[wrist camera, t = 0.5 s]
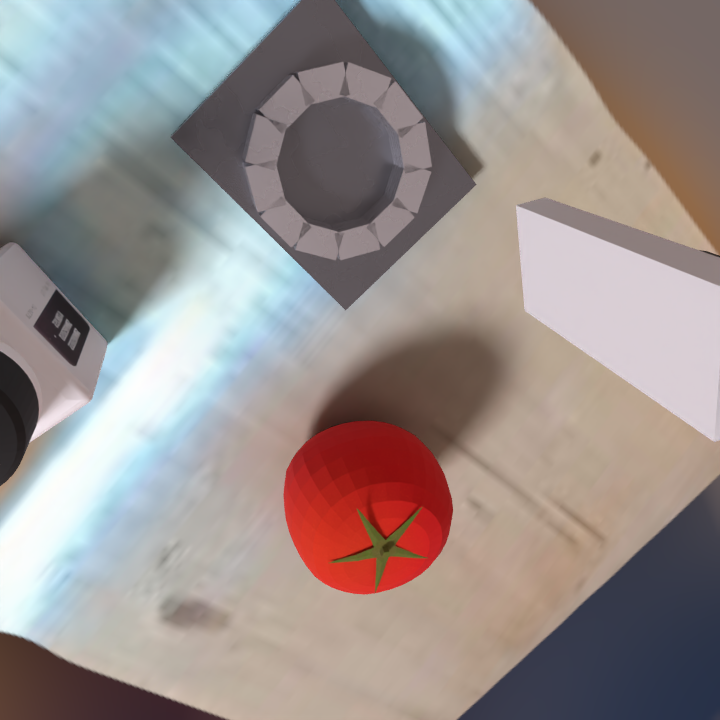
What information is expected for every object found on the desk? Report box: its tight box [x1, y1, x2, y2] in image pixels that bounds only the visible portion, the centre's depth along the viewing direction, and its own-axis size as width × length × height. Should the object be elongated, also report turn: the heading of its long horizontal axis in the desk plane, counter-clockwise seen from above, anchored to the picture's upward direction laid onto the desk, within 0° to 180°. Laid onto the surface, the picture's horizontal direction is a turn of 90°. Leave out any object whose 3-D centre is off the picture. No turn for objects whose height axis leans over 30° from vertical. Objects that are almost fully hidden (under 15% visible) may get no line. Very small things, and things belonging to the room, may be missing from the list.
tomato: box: [284, 421, 453, 594], centre depth 41 cm, size 10×11×11 cm
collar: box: [171, 0, 476, 310], centre depth 36 cm, size 14×11×3 cm
